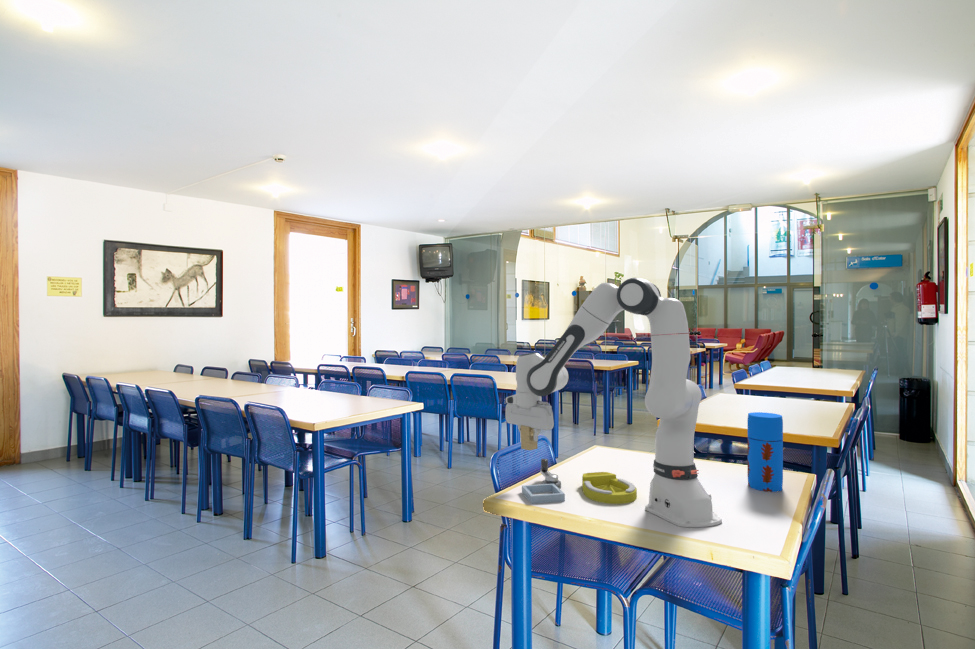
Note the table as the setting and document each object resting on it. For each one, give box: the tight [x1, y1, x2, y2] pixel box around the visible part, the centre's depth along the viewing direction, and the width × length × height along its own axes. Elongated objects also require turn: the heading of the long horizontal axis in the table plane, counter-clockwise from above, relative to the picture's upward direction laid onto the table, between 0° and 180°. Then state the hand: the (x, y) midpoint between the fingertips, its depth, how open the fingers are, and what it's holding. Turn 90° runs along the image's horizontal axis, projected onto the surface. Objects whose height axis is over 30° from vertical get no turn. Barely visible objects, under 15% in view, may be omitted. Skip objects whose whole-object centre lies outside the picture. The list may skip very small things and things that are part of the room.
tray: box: [521, 483, 566, 504], centre depth 173 cm, size 11×11×3 cm
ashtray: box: [581, 471, 638, 505], centre depth 176 cm, size 16×21×5 cm
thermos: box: [747, 411, 784, 493], centre depth 183 cm, size 11×11×25 cm
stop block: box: [520, 425, 538, 451], centre depth 185 cm, size 4×4×8 cm
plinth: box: [541, 479, 562, 490], centre depth 182 cm, size 6×16×2 cm, turn 102°
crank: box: [539, 458, 559, 483], centre depth 186 cm, size 11×4×6 cm, turn 12°
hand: (529, 439), depth 185 cm, fingers closed on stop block, 4 cm apart
